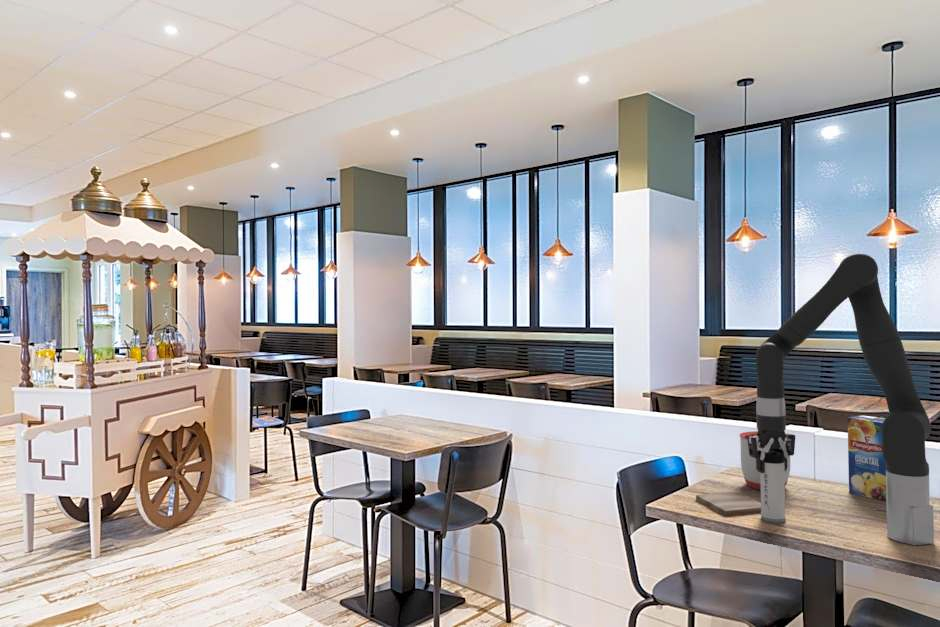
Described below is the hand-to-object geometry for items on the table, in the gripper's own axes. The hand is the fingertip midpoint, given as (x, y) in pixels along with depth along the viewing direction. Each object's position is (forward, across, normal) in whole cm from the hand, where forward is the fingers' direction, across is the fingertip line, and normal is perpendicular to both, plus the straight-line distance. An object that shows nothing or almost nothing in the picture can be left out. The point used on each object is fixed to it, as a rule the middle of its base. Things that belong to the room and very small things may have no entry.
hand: (772, 471), depth 183 cm
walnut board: (+14, -4, +14) cm, 20 cm away
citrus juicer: (+14, +18, +28) cm, 36 cm away
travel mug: (+14, 0, 0) cm, 14 cm away
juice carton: (+14, +44, +11) cm, 47 cm away
